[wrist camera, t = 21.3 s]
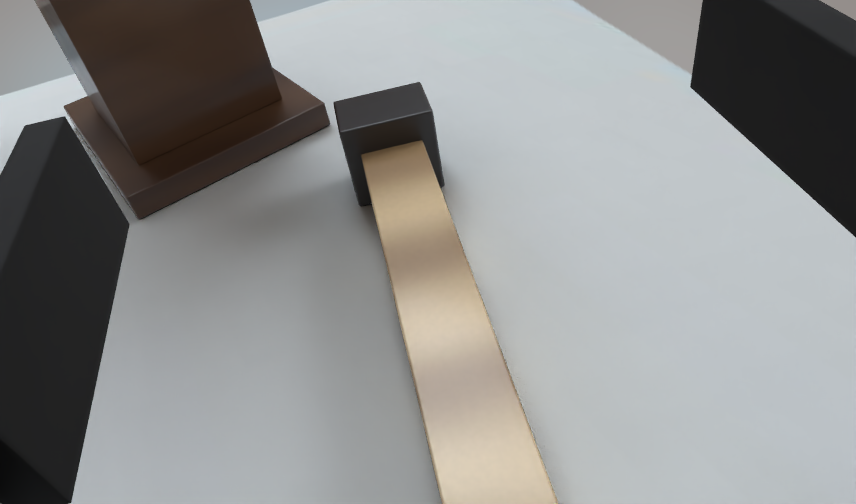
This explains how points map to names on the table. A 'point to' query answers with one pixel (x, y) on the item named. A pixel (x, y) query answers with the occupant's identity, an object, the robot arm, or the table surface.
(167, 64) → the wooden pedestal stand
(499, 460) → the long wooden bar
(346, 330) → the table surface
